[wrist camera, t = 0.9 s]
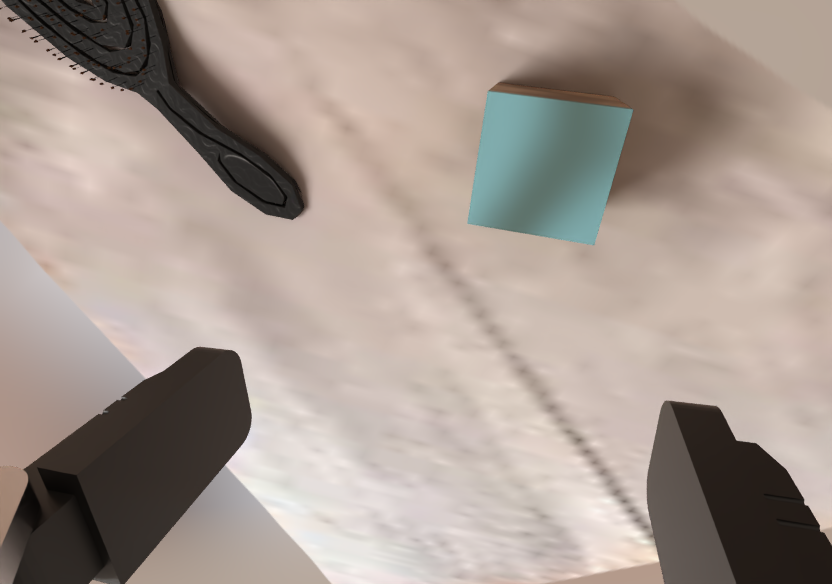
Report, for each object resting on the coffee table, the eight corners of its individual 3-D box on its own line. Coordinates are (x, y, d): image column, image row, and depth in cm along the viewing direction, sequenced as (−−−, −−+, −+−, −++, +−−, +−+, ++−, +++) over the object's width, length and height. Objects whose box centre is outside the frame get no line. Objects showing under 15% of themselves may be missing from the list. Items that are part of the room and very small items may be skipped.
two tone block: (480, 191, 29) (467, 223, 24) (498, 82, 26) (487, 91, 21) (584, 208, 28) (594, 245, 23) (614, 96, 25) (633, 109, 20)
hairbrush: (248, 265, 32) (-109, -62, 26) (272, 243, 35) (-41, -52, 29) (326, 182, 28) (-70, -220, 22) (346, 166, 31) (4, -189, 26)
